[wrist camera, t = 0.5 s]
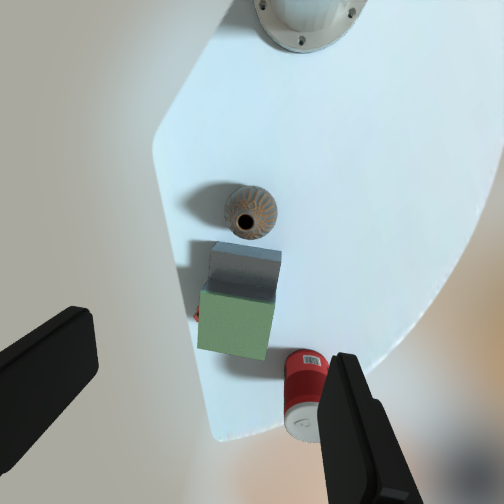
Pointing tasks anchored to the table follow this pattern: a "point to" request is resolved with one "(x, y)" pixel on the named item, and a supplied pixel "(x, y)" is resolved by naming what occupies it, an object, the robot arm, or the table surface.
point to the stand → (238, 300)
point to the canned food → (303, 393)
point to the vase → (251, 212)
